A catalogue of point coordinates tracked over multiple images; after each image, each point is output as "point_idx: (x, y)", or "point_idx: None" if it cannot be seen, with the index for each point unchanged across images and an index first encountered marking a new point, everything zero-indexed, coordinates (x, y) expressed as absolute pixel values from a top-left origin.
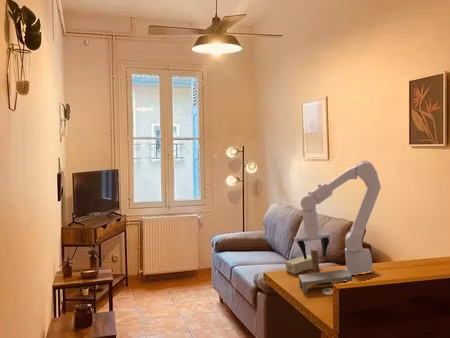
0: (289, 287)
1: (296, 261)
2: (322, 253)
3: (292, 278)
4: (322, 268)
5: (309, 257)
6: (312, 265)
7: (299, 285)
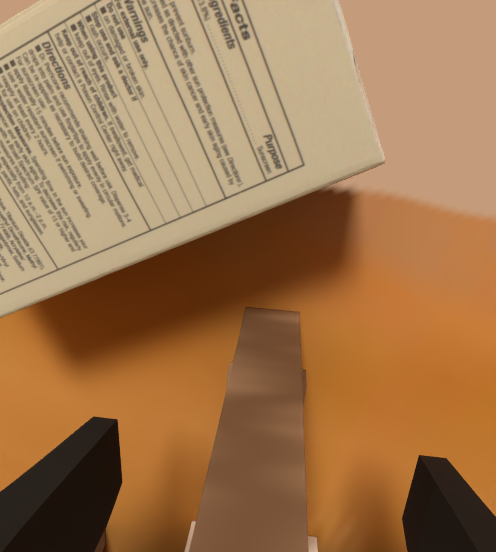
0: None
1: (14, 232)
2: (432, 490)
3: (27, 364)
4: (391, 220)
5: (259, 113)
6: (235, 352)
7: None
